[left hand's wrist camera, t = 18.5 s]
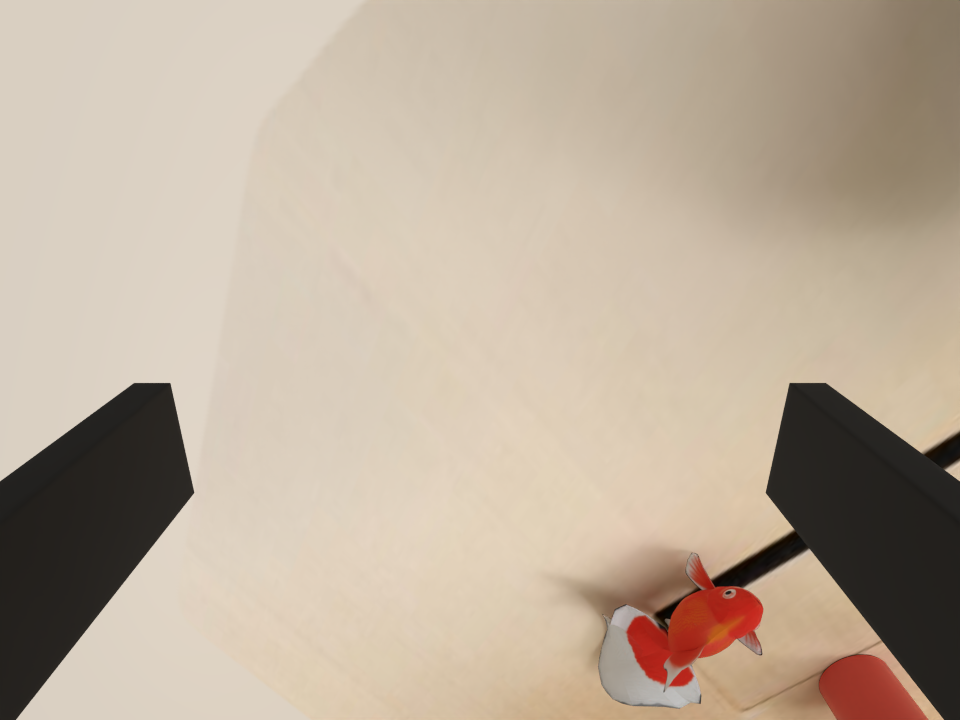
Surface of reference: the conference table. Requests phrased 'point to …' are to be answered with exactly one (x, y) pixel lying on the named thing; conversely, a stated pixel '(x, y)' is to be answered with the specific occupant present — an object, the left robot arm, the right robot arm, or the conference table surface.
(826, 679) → the canister
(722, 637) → the fish
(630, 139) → the conference table surface
